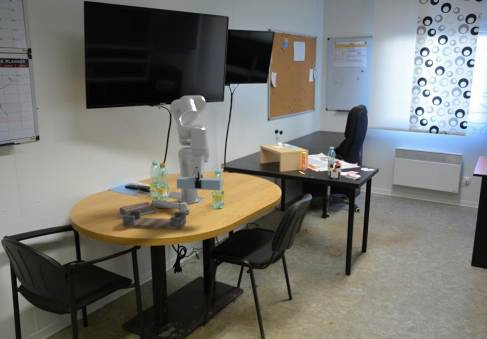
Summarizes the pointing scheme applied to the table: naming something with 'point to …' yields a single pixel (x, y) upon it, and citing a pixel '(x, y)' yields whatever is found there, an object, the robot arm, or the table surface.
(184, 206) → the grey long bar
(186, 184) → the slat
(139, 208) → the grey brown block
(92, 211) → the table surface
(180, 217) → the cradle
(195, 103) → the robot arm
